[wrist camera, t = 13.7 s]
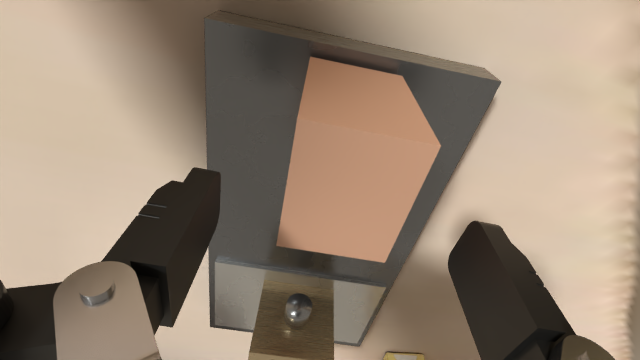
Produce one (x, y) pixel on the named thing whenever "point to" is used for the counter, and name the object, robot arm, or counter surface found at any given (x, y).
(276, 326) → the block
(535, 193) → the counter surface
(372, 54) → the press bed
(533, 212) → the counter surface
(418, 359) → the candy box
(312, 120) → the block
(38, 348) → the robot arm
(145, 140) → the counter surface
